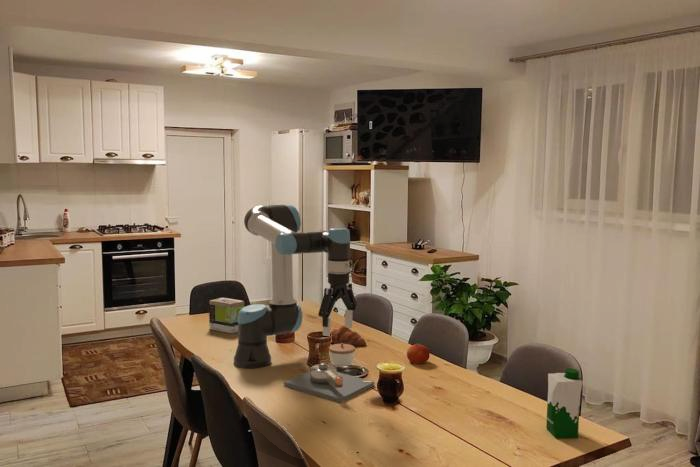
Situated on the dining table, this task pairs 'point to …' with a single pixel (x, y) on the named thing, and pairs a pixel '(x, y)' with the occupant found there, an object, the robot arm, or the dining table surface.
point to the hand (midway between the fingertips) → (337, 331)
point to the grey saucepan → (326, 375)
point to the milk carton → (564, 403)
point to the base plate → (330, 387)
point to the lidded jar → (341, 354)
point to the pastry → (346, 337)
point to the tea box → (224, 314)
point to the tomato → (418, 353)
